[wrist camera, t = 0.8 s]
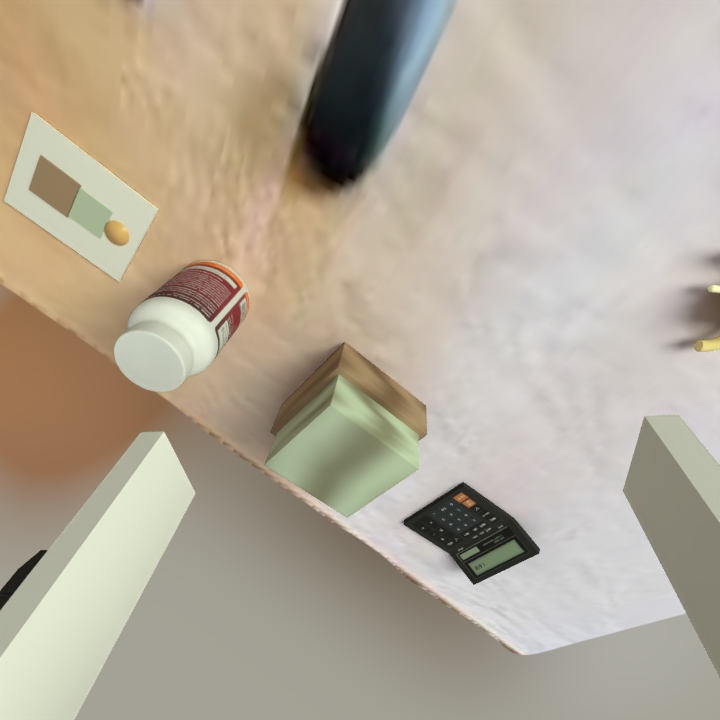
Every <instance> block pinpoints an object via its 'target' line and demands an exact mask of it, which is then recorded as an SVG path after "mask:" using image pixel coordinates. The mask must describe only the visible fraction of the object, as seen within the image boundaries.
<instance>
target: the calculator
mask: <svg viewBox="0 0 720 720" xmlns="http://www.w3.org/2000/svg"><path fill="white" fill-rule="evenodd" d="M404 525H405V526H407V527H409V528H410V529H412V530H413V531H415V532H416V533H418V534H420V535H421V536H423V537H424V538H426V539H427V540H429V541H431V542H432V543H434V544H435V545H437V546H438V547H440V548H442V549H443V550H445V551H446V552H448V553H449V554H450V555H451V556H452V557H453V559H454V560H455V561H456V563H457V564H458V565H459V566H460V568H461V569H462V570H463V572H464V573H465V574H466V576H467V577H468V578H469V579H470V581H471V582H472V583H473V585H474V584H476V583H479V582H481V581H483V580H485V579H487V578H489V577H491V576H493V575H495V574H497V573H499V572H501V571H504V570H506V569H508V568H510V567H512V566H514V565H516V564H518V563H520V562H522V561H524V560H527V559H529V558H531V557H533V556H535V555H537V554H539V551H540V548H539V547H538V546H537V545H536V544H535V543H534V541H533V540H532V539H531V538H530V537H529V535H528V534H527V533H526V532H525V531H524V529H523V528H522V527H521V526H520V525H519V523H518V522H517V521H516V520H515V519H514V518H513V517H512V516H511V515H509V514H508V513H506V512H505V511H503V510H502V509H501V508H499V507H498V506H496V505H495V504H494V503H492V502H491V501H489V500H488V499H487V498H485V497H484V496H482V495H481V494H479V493H478V492H477V491H475V490H474V489H472V488H471V487H470V486H468V485H467V484H465V483H464V482H463V483H461V484H460V485H458V486H457V487H455V488H453V489H452V490H450V491H449V492H447V493H446V494H444V495H443V496H441V497H440V498H438V499H436V500H435V501H433V502H432V503H430V504H429V505H427V506H426V507H424V508H422V509H421V510H419V511H418V512H416V513H415V514H413V515H412V516H410V517H409V518H407V519H405V520H404Z"/></svg>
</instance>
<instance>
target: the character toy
mask: <svg viewBox="0 0 720 720" xmlns="http://www.w3.org/2000/svg"><path fill="white" fill-rule="evenodd" d="M708 291H709V292H713V293H720V286H718V285H710V286H709V287H708ZM694 348H695V350H696V351H697V352H708V351H714V350H718V349H720V336H718V337H716V338H713V339H708V340H698V341H696V343H695V346H694Z"/></svg>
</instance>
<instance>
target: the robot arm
mask: <svg viewBox="0 0 720 720" xmlns="http://www.w3.org/2000/svg"><path fill="white" fill-rule="evenodd" d="M623 492H624V494H625V496H626V498H627V499H628V501H629V503H630V505H631V507H632V509H633V511H634V513H635V515H636V517H637V519H638V521H639V523H640V525H641V526H642V528H643V530H644V532H645V534H646V536H647V538H648V540H649V542H650V544H651V546H652V548H653V550H654V551H655V553H656V555H657V557H658V559H659V561H660V563H661V565H662V567H663V569H664V571H665V573H666V575H667V577H668V578H669V580H670V582H671V584H672V586H673V588H674V590H675V592H676V594H677V596H678V598H679V600H680V602H681V604H682V605H683V607H684V609H685V611H686V613H687V615H688V617H689V619H690V621H691V623H692V625H693V627H694V629H695V630H696V632H697V634H698V636H699V638H700V640H701V642H702V644H703V646H704V648H705V650H706V651H707V654H708V656H709V658H710V659H711V661H712V663H713V665H714V667H715V669H716V671H717V673H718V675H719V677H720V465H719V464H718V463H717V461H716V460H715V459H714V458H713V456H712V455H711V454H710V453H709V452H708V450H707V449H706V448H705V447H704V445H703V444H702V443H701V442H700V440H699V439H698V438H697V437H696V435H695V434H694V433H693V432H692V431H691V429H690V428H689V427H688V426H687V424H686V423H685V422H684V421H683V419H682V418H681V417H680V416H679V415H658V416H644V420H643V423H642V427H641V430H640V434H639V437H638V441H637V444H636V448H635V451H634V455H633V458H632V461H631V465H630V468H629V472H628V475H627V479H626V482H625V486H624V489H623ZM194 495H195V491H194V489H193V488H192V485H191V483H190V482H189V480H188V478H187V476H186V474H185V472H184V470H183V468H182V466H181V464H180V462H179V460H178V458H177V456H176V454H175V452H174V450H173V448H172V446H171V444H170V442H169V440H168V438H167V436H166V434H165V433H164V432H141V433H140V434H139V435H138V437H137V438H136V439H135V440H134V442H133V443H132V444H131V446H130V447H129V448H128V449H127V451H126V452H125V453H124V454H123V456H122V457H121V458H120V460H119V461H118V462H117V463H116V465H115V466H114V467H113V468H112V470H111V471H110V472H109V473H108V475H107V476H106V477H105V479H104V480H103V481H102V482H101V484H100V485H99V486H98V487H97V489H96V490H95V491H94V493H93V494H92V495H91V496H90V497H89V499H88V500H87V501H86V503H85V504H84V505H83V506H82V508H81V509H80V510H79V511H78V513H77V514H76V515H75V517H74V518H73V519H72V520H71V522H70V523H69V524H68V525H67V527H66V528H65V529H64V530H63V532H62V533H61V535H60V536H59V537H58V538H57V539H56V541H55V542H54V543H53V544H52V546H51V547H50V548H49V549H48V550H41V551H39V552H38V553H37V554H36V555H35V556H33V557H32V558H31V559H30V560H29V561H27V562H26V563H25V564H24V565H23V566H22V567H20V568H19V569H18V570H17V571H16V573H15V574H14V575H13V576H12V577H11V579H10V580H9V581H8V582H7V583H6V585H5V586H4V587H3V588H2V589H1V591H0V720H74V719H75V717H76V715H77V713H78V711H79V710H80V708H81V706H82V704H83V702H84V700H85V699H86V697H87V695H88V693H89V691H90V689H91V687H92V685H93V684H94V682H95V680H96V678H97V676H98V674H99V672H100V671H101V669H102V667H103V665H104V663H105V661H106V659H107V657H108V656H109V654H110V652H111V650H112V648H113V646H114V644H115V643H116V641H117V639H118V637H119V635H120V633H121V631H122V629H123V628H124V626H125V624H126V622H127V620H128V618H129V617H130V614H131V613H132V611H133V609H134V607H135V605H136V603H137V601H138V600H139V598H140V596H141V594H142V592H143V590H144V589H145V587H146V585H147V583H148V581H149V579H150V577H151V576H152V573H153V572H154V570H155V568H156V566H157V564H158V562H159V561H160V559H161V557H162V555H163V553H164V551H165V549H166V548H167V546H168V544H169V542H170V540H171V538H172V536H173V534H174V533H175V531H176V529H177V527H178V525H179V523H180V521H181V520H182V518H183V516H184V514H185V512H186V510H187V508H188V507H189V505H190V503H191V501H192V499H193V497H194Z"/></svg>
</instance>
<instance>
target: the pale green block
mask: <svg viewBox="0 0 720 720" xmlns="http://www.w3.org/2000/svg"><path fill="white" fill-rule="evenodd" d="M271 433H272V434H274V435H275V436H276V438H275V440H274V443H273V445H272V447H271V450H270V452H269V455H268V457H267V460H266V462H265V465H266V466H267V467H269V468H270V469H272V470H273V471H275V472H276V473H278V474H280V475H281V476H283V477H284V478H286V479H287V480H289V481H291V482H292V483H294V484H295V485H297V486H298V487H300V488H301V489H303V490H305V491H306V492H308V493H309V494H311V495H312V496H314V497H316V498H317V499H319V500H320V501H322V502H323V503H325V504H326V505H328V506H330V507H331V508H333V509H334V510H336V511H337V512H339V513H341V514H342V515H344V516H345V517H349V516H350V515H352V514H353V513H355V512H356V511H358V510H359V509H361V508H362V507H364V506H365V505H367V504H368V503H370V502H371V501H373V500H374V499H376V498H377V497H379V496H380V495H381V494H383V493H384V492H386V491H387V490H389V489H390V488H392V487H393V486H395V485H396V484H398V483H399V482H401V481H402V480H404V479H405V478H407V477H408V476H410V475H411V474H413V473H414V472H415V471H417V470H418V469H419V440H420V439H422V438H423V437H425V436H426V435H427V422H426V406H425V405H424V404H423V403H422V402H420V401H419V400H418V399H417V398H415V397H414V396H413V395H411V394H410V393H409V392H408V391H406V390H405V389H404V388H403V387H401V386H400V385H399V384H398V383H396V382H395V381H394V380H392V379H391V378H390V377H389V376H387V375H386V374H385V373H384V372H382V371H381V370H380V369H379V368H377V367H376V366H375V365H374V364H372V363H371V362H370V361H368V360H367V359H366V358H365V357H363V356H362V355H361V354H360V353H358V352H357V351H356V350H355V349H353V348H352V347H351V346H349V345H348V344H347V343H346V342H345V343H344V344H343V345H342V346H341V347H340V348H339V349H338V350H337V351H336V352H335V353H334V354H333V355H332V356H331V357H330V358H329V359H328V360H327V361H326V362H325V363H324V364H323V365H322V366H321V367H320V368H319V369H318V370H317V371H316V372H315V373H314V374H313V375H312V376H311V377H310V378H309V379H308V380H307V381H306V382H305V383H303V384H302V385H301V386H300V387H299V388H298V389H297V390H296V391H295V392H294V393H293V394H292V395H291V396H290V397H289V398H288V399H287V400H286V401H285V402H284V403H283V404H282V406H281V408H280V411H279V413H278V415H277V418H276V420H275V422H274V425H273V427H272V429H271Z"/></svg>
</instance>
